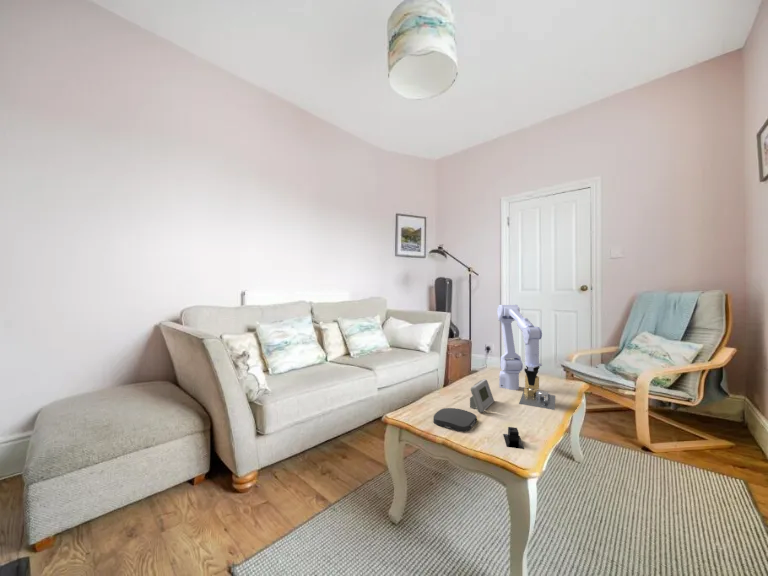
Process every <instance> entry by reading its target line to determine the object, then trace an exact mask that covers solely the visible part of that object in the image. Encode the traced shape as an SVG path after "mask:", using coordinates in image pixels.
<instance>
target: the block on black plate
mask: <svg viewBox="0 0 768 576" xmlns="http://www.w3.org/2000/svg"><path fill="white" fill-rule="evenodd" d="M502 435H503V439H504V441H505V442H504V443H505V445H506V447H507V448H512V449H520V450H525V447H524V444H523V441H522V439H521V436H520V432H519V430H518V427H514V426H513V427H512V426H508V427H507V433H503V434H502Z"/></svg>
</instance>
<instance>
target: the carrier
mask: <svg viewBox="0 0 768 576" xmlns="http://www.w3.org/2000/svg"><path fill="white" fill-rule="evenodd" d="M518 404H519V405H523V406H530V407H534V408H535V407H536V408H541V409H547V410H552V411H555V410H556V395H553V394H551V393H549V392H548V391H543V390H538V389H529V388H526V387H524V388H523V391H522V394H521V397H520V400H519V403H518Z"/></svg>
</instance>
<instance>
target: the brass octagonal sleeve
mask: <svg viewBox="0 0 768 576" xmlns="http://www.w3.org/2000/svg"><path fill="white" fill-rule="evenodd" d="M524 378H525V379H524V382H525V383H524V386H525V387H526V388H529V389H537V390H539V389H540V376H539V375H537V376H536V379H535V384H534V386H533V385H529V383H528V378H527V375H526V374H525V375H524ZM525 387H524V388H525Z"/></svg>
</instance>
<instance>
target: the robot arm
mask: <svg viewBox="0 0 768 576" xmlns="http://www.w3.org/2000/svg"><path fill="white" fill-rule="evenodd" d="M496 310H497V311H496V312H497V319H498V321H499V322H500V323H501V331H502V338H503V339H502V340H503V345H504V346H503V347H504V353H503V354H502V355H501V356H500V362H499V363H500V369H501V370H500V371H499V383H498V385H499V388H501V389H507V390H512V391H515V390H519V389H520V373H521V372H522V370H523V369H524V370H523V371H524V373H525V375H527V378H528V383H529V385H533V386H534V384H535V379H536V376H538V373H539V369H540V367H542V366H543V364H542V363H540V340H541V339H542V337H543V333H542V331H543V330H542V329H541V327H540V326H535V325H533V323H532V322H531V320H529V319H528V317H524V316H523V315H522V313H521V312H520V311H521V310H520V306H519V305H518V304H499V305H497V309H496ZM514 321H516V325H517V328H518V329H520V332H522V337H523V342H524V346H525V347H524V352H525V353H524V356H525V357H524V358H525V359H524V360H525V361H524V363H523V361H522V357H521V355H519V354H518V353H517V352H516V348H515V341H514V334H513V327H512V323H513V322H514ZM524 365H525V367H526V368H525V367H524Z"/></svg>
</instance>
